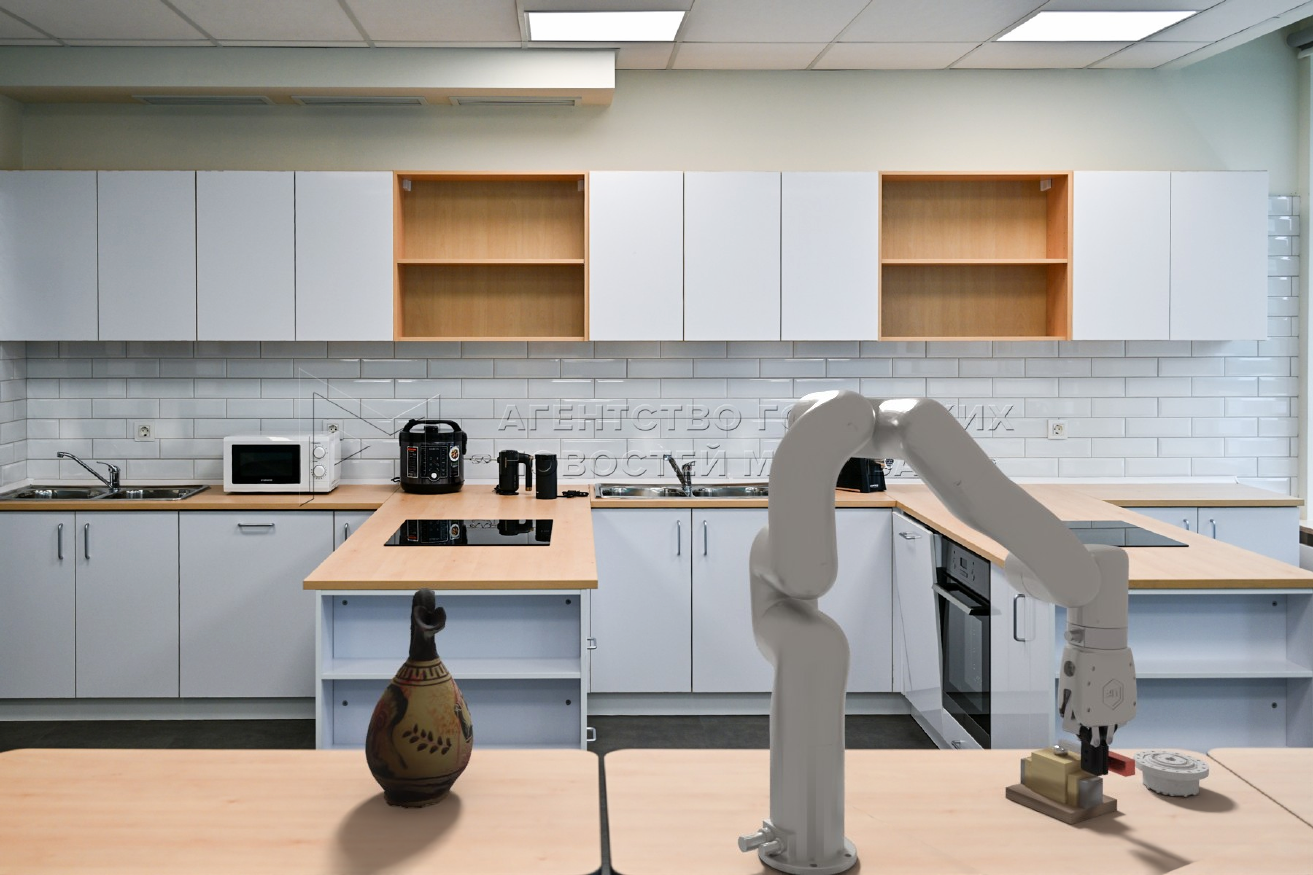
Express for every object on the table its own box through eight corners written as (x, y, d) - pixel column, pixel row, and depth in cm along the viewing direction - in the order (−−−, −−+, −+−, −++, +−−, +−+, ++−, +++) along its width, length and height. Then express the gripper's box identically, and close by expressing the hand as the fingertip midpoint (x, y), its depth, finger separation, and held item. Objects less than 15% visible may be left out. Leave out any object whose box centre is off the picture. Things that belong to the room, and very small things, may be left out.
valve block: (1070, 824, 132) (1071, 772, 132) (1005, 797, 142) (1005, 749, 142) (1117, 809, 137) (1117, 759, 137) (1050, 784, 147) (1051, 738, 147)
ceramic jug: (483, 806, 138) (482, 597, 138) (370, 823, 132) (370, 604, 132) (461, 767, 154) (461, 579, 153) (360, 780, 148) (359, 585, 148)
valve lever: (1050, 751, 140) (1050, 734, 140) (1060, 749, 141) (1060, 732, 141) (1125, 780, 129) (1125, 761, 129) (1135, 778, 129) (1135, 759, 129)
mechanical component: (1201, 775, 138) (1125, 760, 145) (1200, 806, 138) (1125, 789, 145) (1214, 757, 146) (1142, 743, 152) (1214, 786, 146) (1142, 771, 152)
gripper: (1077, 647, 124) (1074, 789, 124) (1160, 638, 130) (1158, 774, 130) (1033, 635, 131) (1031, 770, 131) (1114, 627, 137) (1112, 756, 137)
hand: (1094, 771), depth 131 cm, fingers closed
